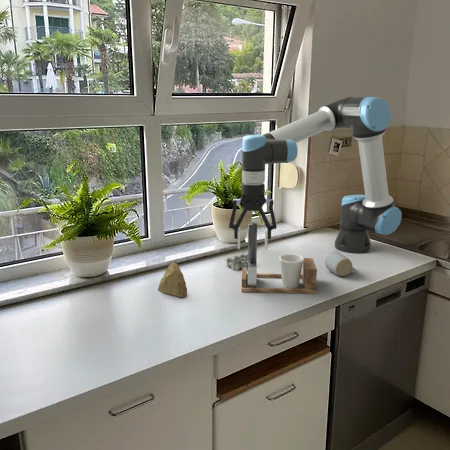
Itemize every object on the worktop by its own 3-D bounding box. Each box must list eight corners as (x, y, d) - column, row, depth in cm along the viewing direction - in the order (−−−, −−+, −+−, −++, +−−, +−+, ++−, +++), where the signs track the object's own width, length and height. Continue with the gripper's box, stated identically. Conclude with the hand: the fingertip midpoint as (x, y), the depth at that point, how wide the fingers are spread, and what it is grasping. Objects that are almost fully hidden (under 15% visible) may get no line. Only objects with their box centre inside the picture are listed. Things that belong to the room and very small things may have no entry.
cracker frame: (311, 277, 168) (312, 256, 166) (316, 293, 155) (317, 271, 152) (242, 276, 169) (242, 255, 167) (241, 291, 156) (241, 269, 154)
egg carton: (233, 271, 174) (233, 261, 173) (223, 265, 181) (223, 255, 179) (256, 266, 180) (257, 256, 179) (245, 260, 186) (246, 251, 185)
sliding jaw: (256, 277, 167) (257, 219, 161) (256, 289, 158) (257, 227, 152) (247, 277, 167) (248, 219, 161) (247, 288, 158) (248, 227, 152)
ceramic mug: (336, 278, 167) (337, 258, 165) (323, 271, 174) (325, 251, 172) (360, 275, 170) (362, 255, 168) (347, 267, 178) (349, 248, 176)
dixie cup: (285, 291, 156) (286, 263, 154) (274, 282, 164) (275, 255, 161) (307, 287, 160) (308, 260, 157) (294, 278, 167) (296, 252, 164)
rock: (196, 289, 152) (188, 275, 161) (181, 273, 148) (173, 259, 156) (170, 310, 152) (163, 295, 161) (154, 295, 148) (148, 280, 156)
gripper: (220, 184, 150) (220, 250, 156) (286, 185, 148) (284, 251, 155) (221, 180, 157) (222, 243, 163) (285, 181, 156) (283, 244, 162)
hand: (252, 247), depth 159 cm, fingers open, 9 cm apart
